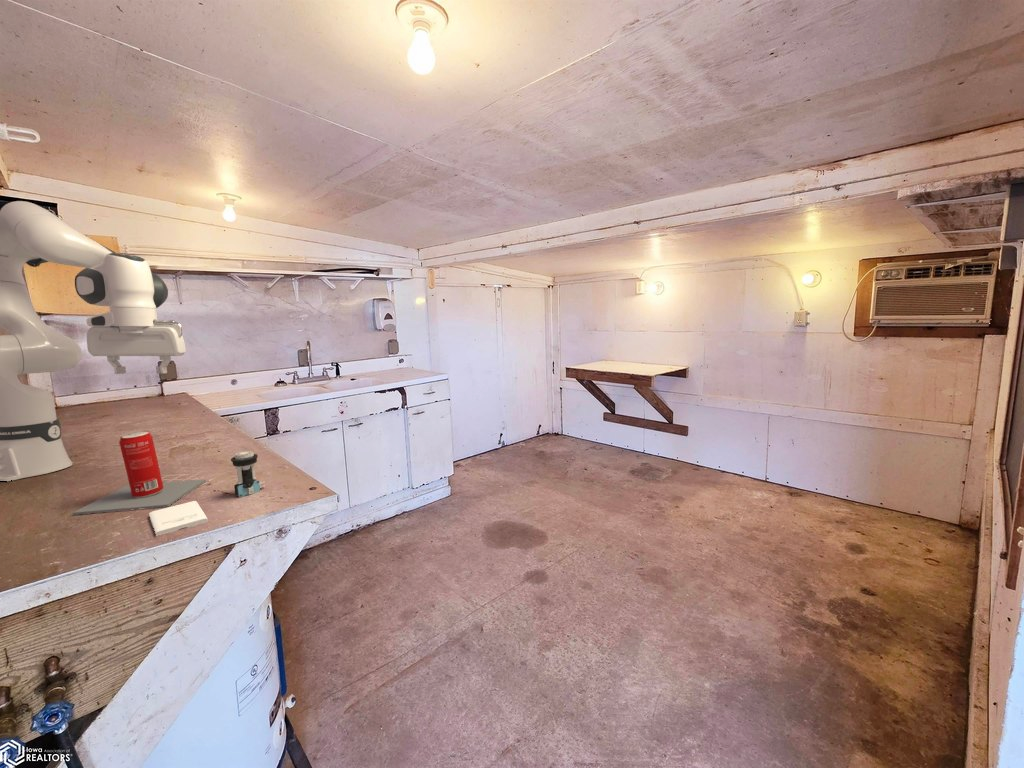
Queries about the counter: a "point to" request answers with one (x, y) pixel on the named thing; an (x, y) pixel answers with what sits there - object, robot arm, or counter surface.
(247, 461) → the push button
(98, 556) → the counter surface
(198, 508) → the external hard drive
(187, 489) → the mat
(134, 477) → the beverage can
